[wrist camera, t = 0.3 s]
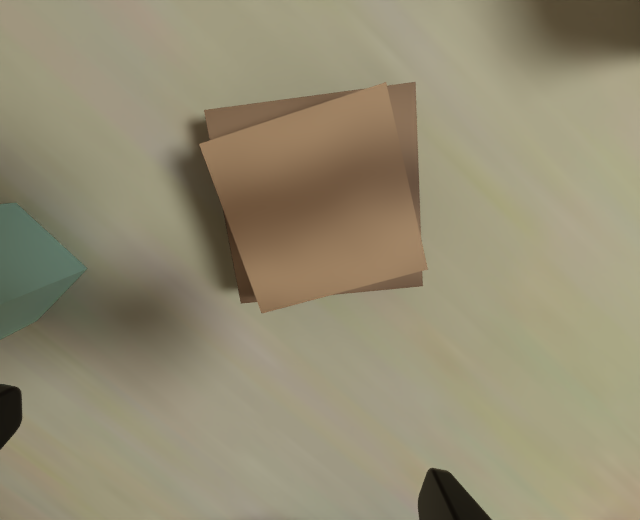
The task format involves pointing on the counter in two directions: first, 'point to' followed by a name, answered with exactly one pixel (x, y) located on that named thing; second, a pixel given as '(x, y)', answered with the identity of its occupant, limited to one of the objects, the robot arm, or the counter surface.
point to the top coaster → (318, 199)
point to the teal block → (30, 269)
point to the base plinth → (257, 113)
